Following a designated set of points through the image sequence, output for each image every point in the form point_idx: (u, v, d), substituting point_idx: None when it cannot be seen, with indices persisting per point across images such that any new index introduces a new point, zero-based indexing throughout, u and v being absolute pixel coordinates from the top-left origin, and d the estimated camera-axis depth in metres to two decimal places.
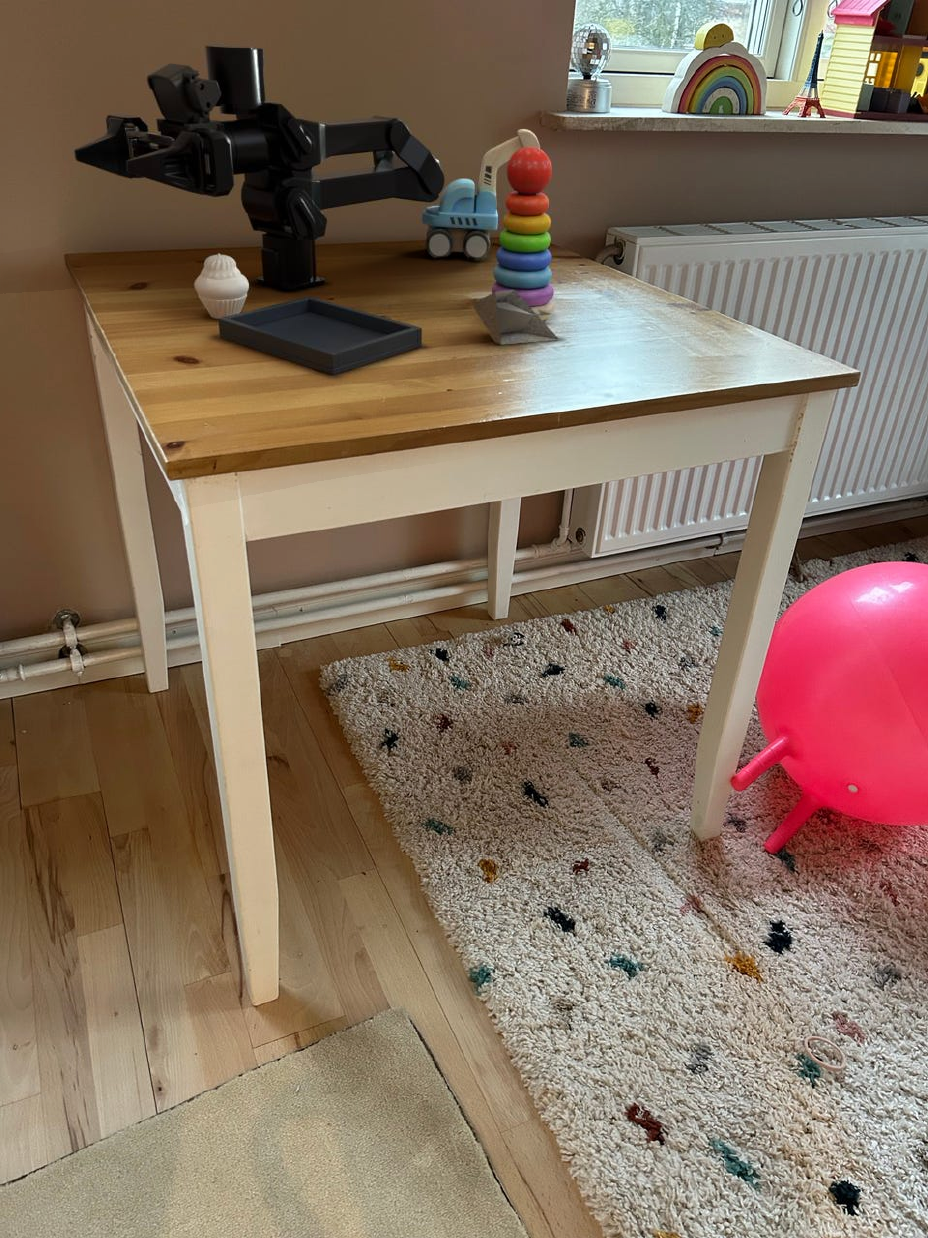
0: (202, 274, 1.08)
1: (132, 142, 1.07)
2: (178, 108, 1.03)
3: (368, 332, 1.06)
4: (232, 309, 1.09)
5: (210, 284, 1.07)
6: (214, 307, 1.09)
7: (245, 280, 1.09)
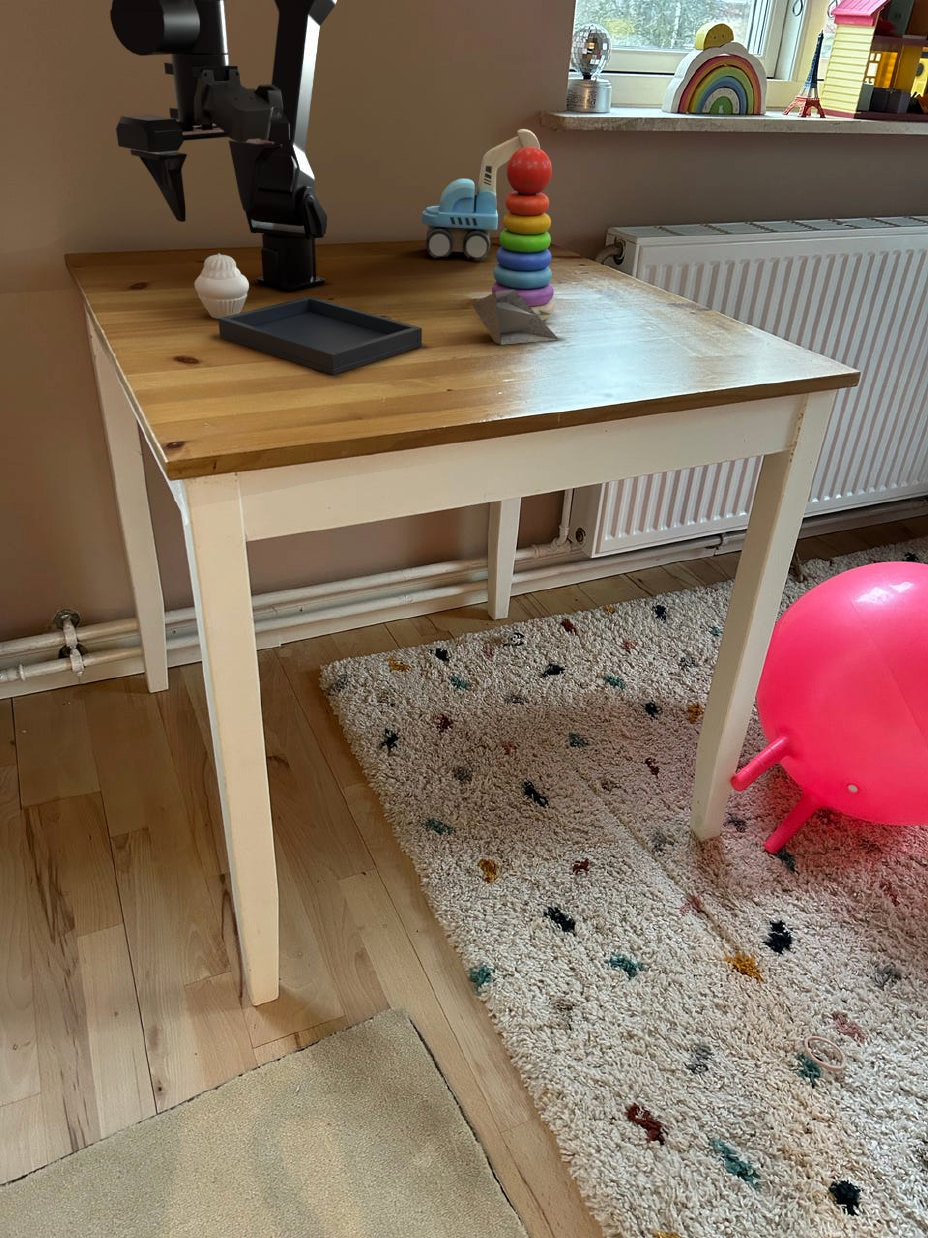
0: (202, 274, 1.08)
1: None
2: None
3: (368, 332, 1.06)
4: (232, 309, 1.09)
5: (210, 284, 1.07)
6: (214, 307, 1.09)
7: (245, 280, 1.09)
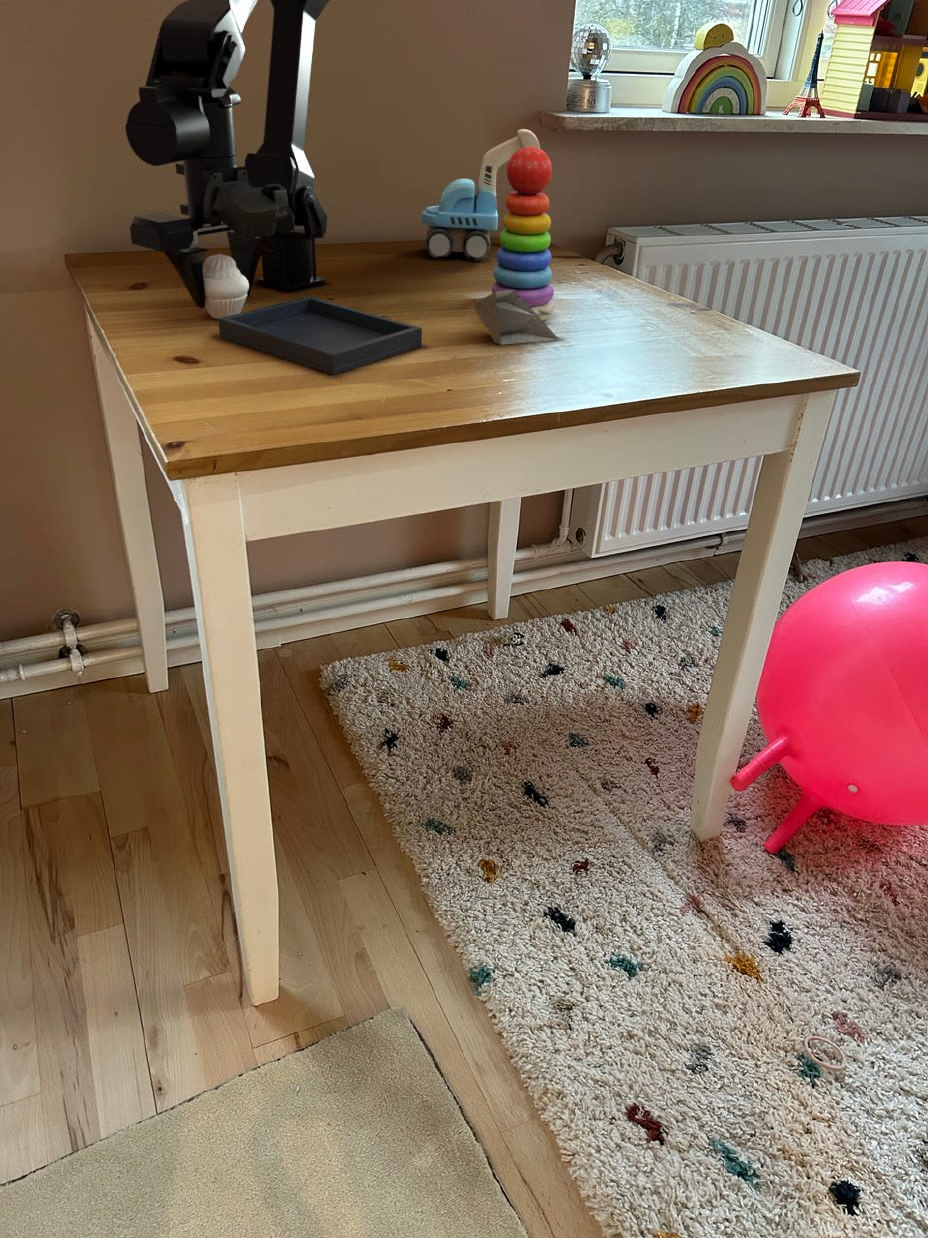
0: None
1: None
2: None
3: (368, 332, 1.06)
4: (232, 309, 1.09)
5: (210, 284, 1.07)
6: (214, 307, 1.09)
7: (245, 280, 1.09)
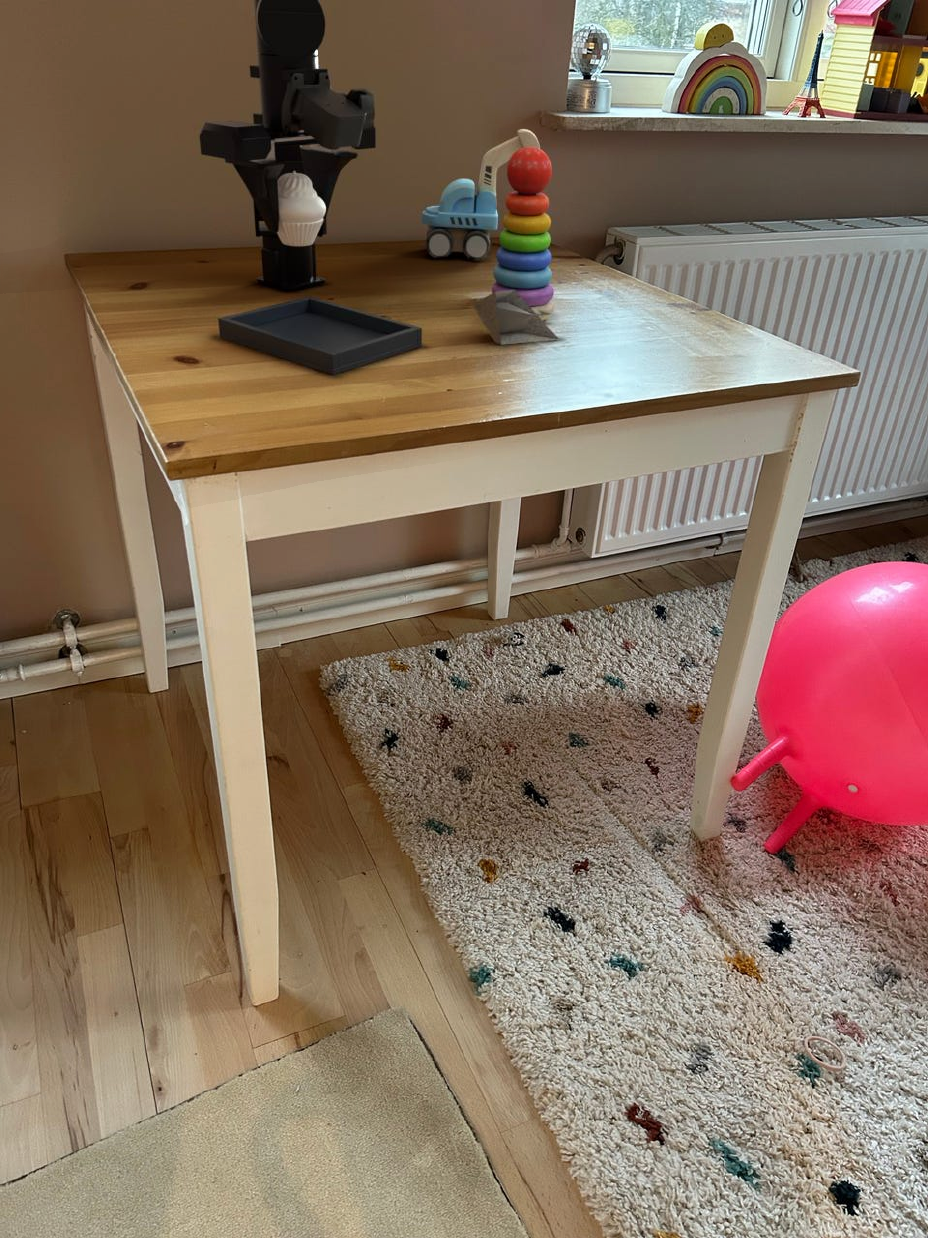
0: None
1: None
2: None
3: (368, 332, 1.06)
4: (307, 234, 0.98)
5: (285, 204, 0.96)
6: (288, 231, 0.98)
7: (322, 202, 0.98)
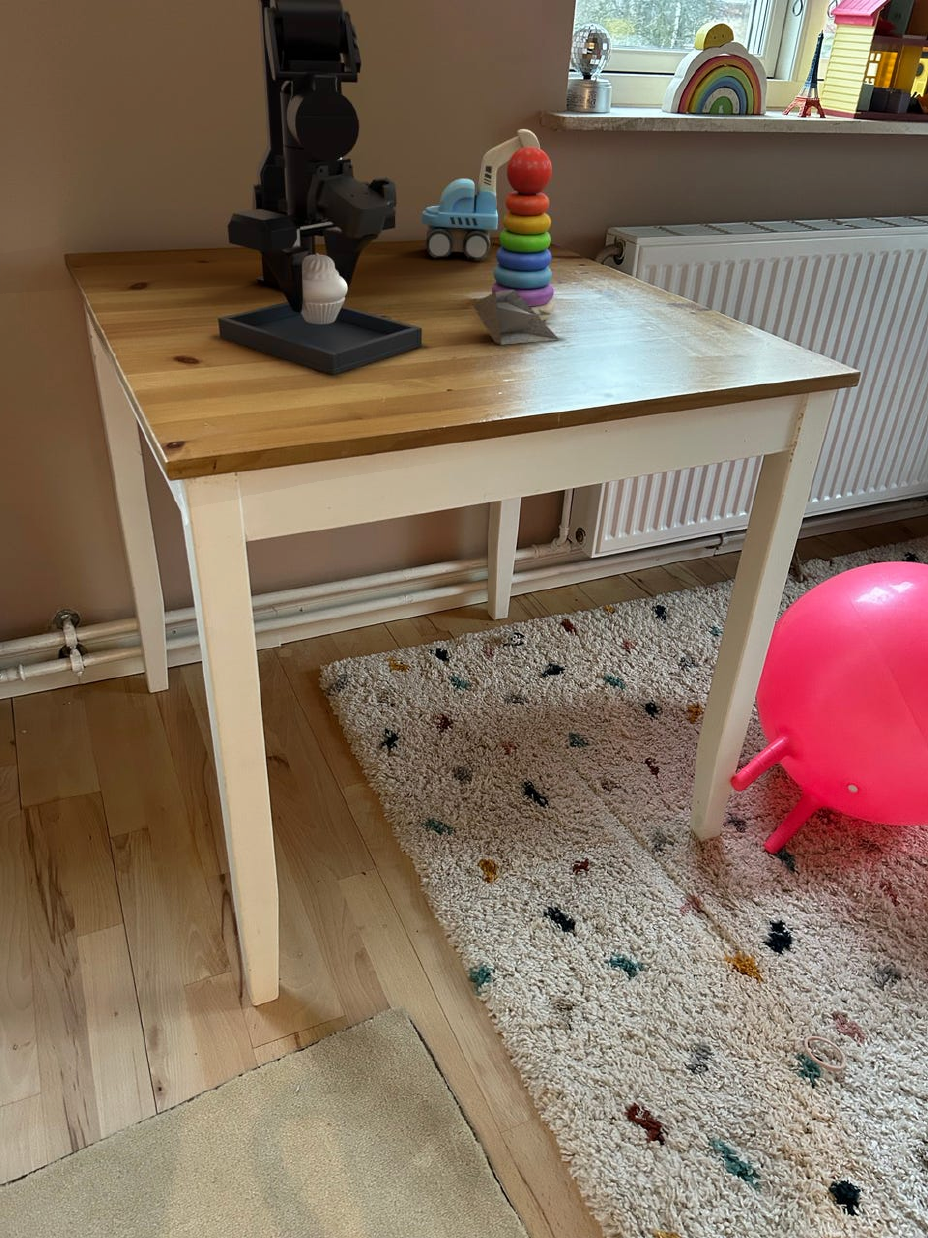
0: None
1: None
2: None
3: (368, 332, 1.06)
4: (329, 313, 1.01)
5: (309, 286, 0.99)
6: (311, 311, 1.01)
7: (344, 282, 1.01)
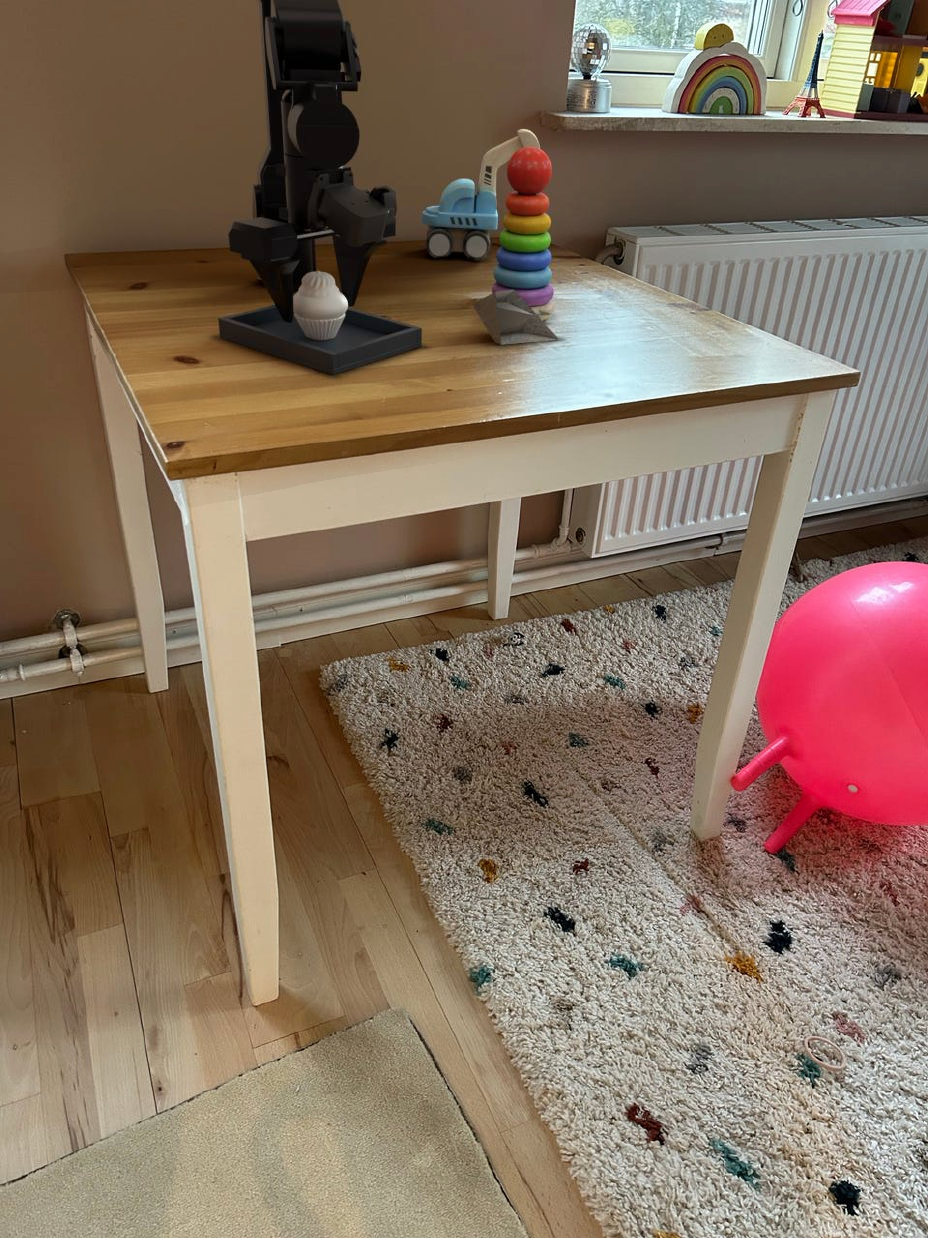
0: (300, 292, 1.01)
1: None
2: None
3: (368, 332, 1.06)
4: (330, 329, 1.02)
5: (309, 303, 1.00)
6: (312, 327, 1.02)
7: (344, 298, 1.02)
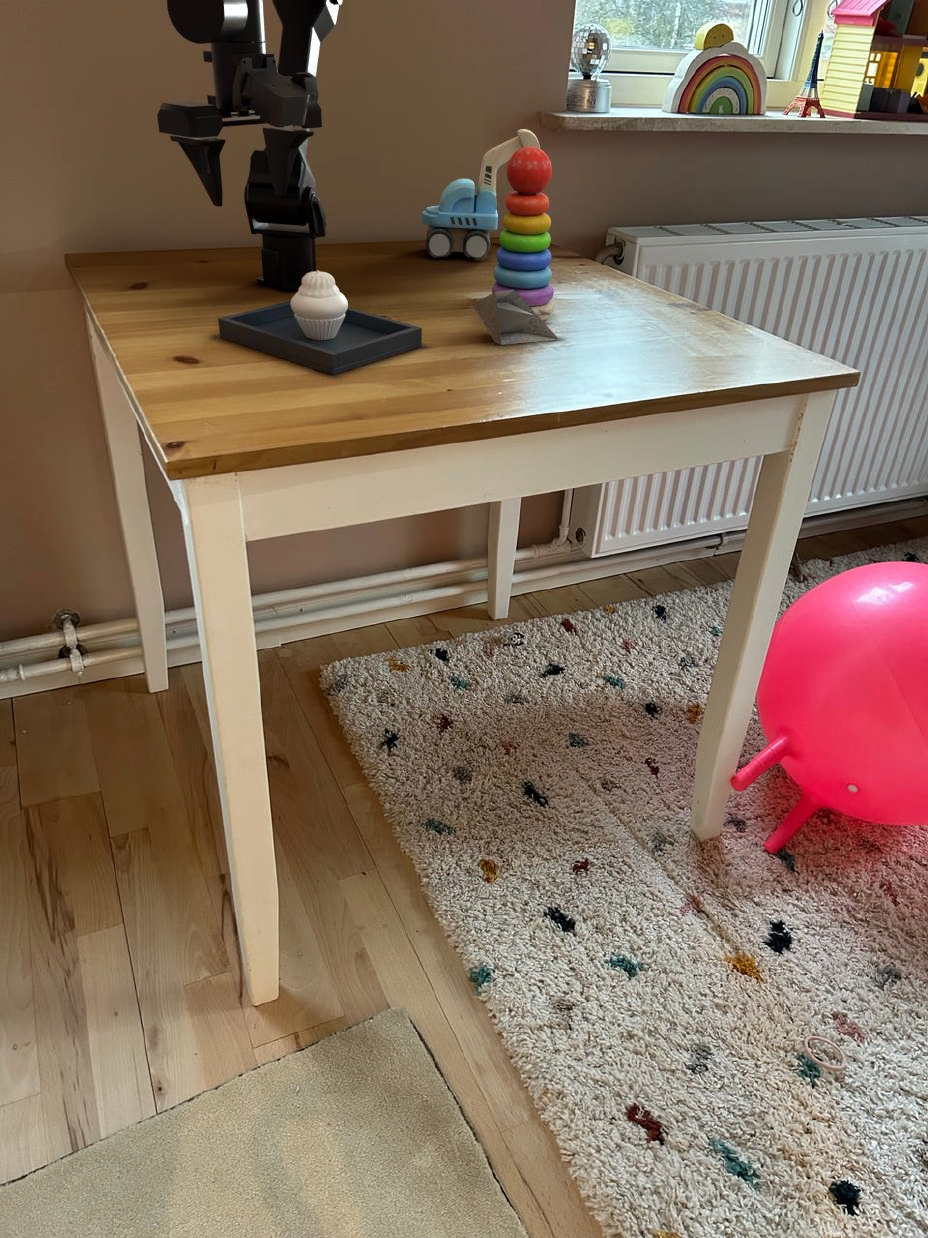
0: (300, 292, 1.01)
1: None
2: None
3: (368, 332, 1.06)
4: (330, 329, 1.02)
5: (309, 303, 1.00)
6: (312, 327, 1.02)
7: (344, 298, 1.02)
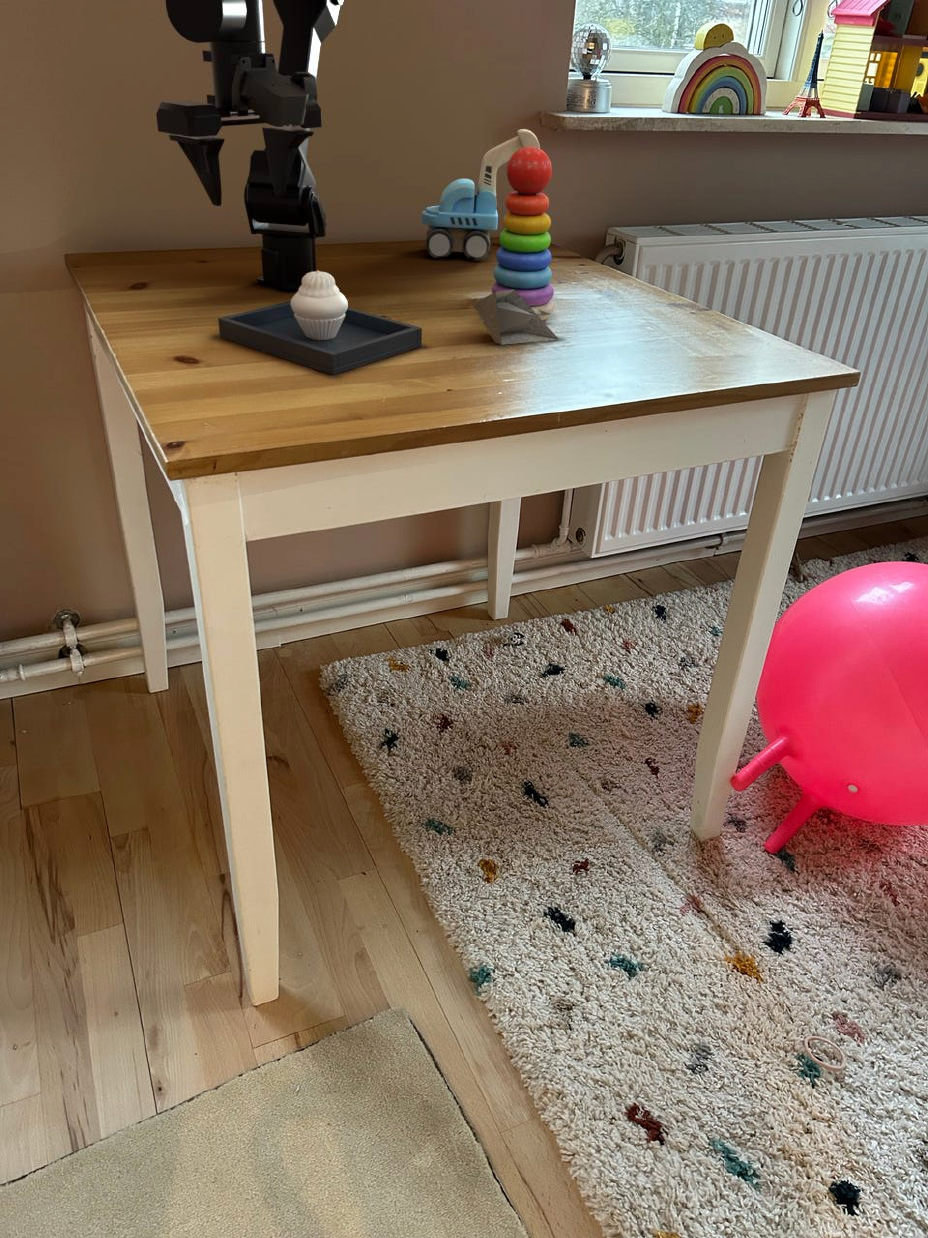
0: (300, 292, 1.01)
1: None
2: None
3: (368, 332, 1.06)
4: (330, 329, 1.02)
5: (309, 303, 1.00)
6: (312, 327, 1.02)
7: (344, 298, 1.02)
